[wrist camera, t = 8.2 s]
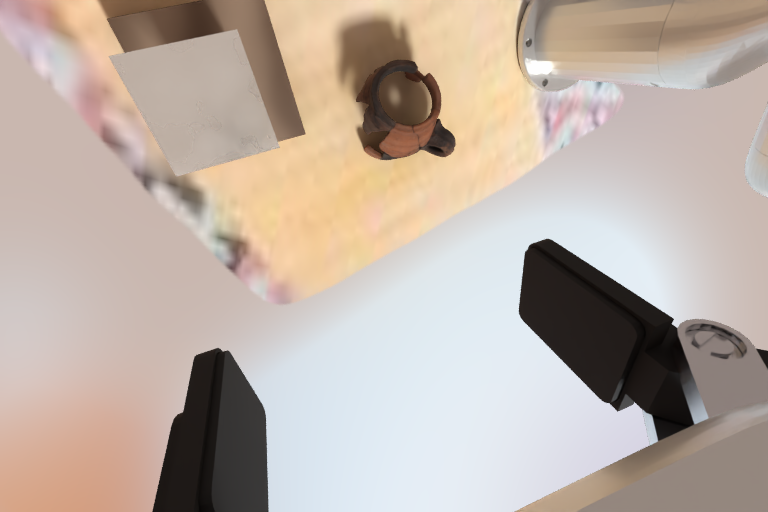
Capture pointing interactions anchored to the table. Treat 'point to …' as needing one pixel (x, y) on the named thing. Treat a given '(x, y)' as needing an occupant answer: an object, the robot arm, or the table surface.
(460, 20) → the table surface
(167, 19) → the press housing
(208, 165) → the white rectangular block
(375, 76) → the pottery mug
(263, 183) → the table surface
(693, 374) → the robot arm
